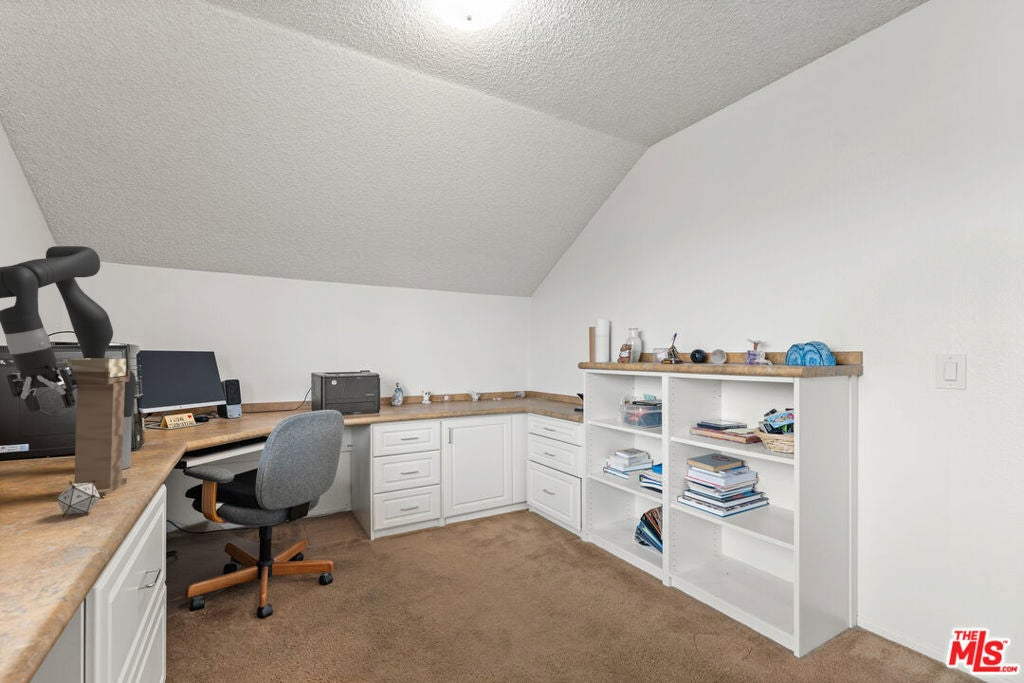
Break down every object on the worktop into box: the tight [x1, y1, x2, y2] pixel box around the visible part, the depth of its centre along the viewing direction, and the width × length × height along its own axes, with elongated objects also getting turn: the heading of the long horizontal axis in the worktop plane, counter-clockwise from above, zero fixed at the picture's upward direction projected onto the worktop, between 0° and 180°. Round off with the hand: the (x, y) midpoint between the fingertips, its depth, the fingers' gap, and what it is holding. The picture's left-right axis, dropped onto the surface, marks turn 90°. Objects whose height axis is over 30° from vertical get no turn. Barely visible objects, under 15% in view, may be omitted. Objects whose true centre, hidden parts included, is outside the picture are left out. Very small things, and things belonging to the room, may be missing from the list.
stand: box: [57, 369, 131, 497], centre depth 136 cm, size 15×10×34 cm, turn 21°
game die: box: [51, 479, 106, 518], centre depth 117 cm, size 9×8×10 cm
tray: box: [56, 358, 127, 377], centre depth 135 cm, size 12×18×5 cm
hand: (53, 408), depth 124 cm, fingers open, 8 cm apart
